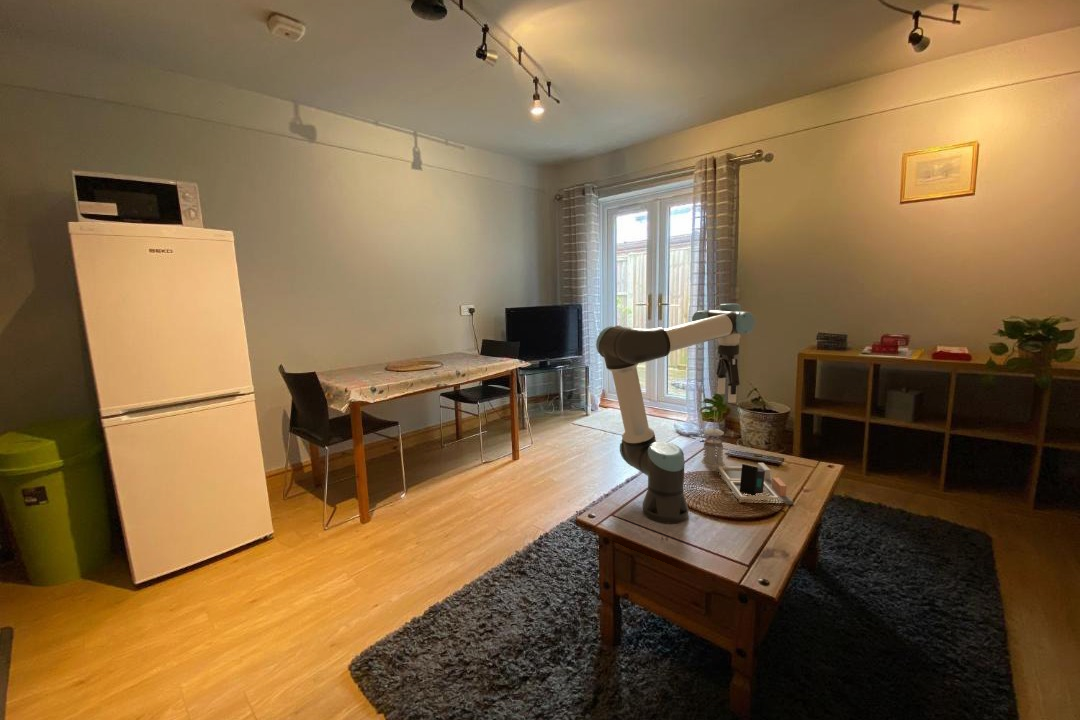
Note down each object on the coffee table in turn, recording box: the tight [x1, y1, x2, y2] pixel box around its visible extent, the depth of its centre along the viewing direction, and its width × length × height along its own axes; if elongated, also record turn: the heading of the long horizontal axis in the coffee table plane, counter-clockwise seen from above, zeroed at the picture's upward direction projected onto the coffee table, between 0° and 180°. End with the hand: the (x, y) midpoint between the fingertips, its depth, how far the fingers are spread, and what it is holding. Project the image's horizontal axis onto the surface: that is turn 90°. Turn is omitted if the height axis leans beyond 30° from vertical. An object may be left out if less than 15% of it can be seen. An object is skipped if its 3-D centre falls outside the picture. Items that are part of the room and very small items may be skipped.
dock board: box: [715, 462, 794, 505], centre depth 166 cm, size 18×28×5 cm, turn 174°
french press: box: [700, 406, 726, 468], centre depth 187 cm, size 10×12×25 cm
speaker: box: [740, 463, 765, 495], centre depth 159 cm, size 8×6×10 cm
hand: (726, 398), depth 170 cm, fingers open, 13 cm apart
